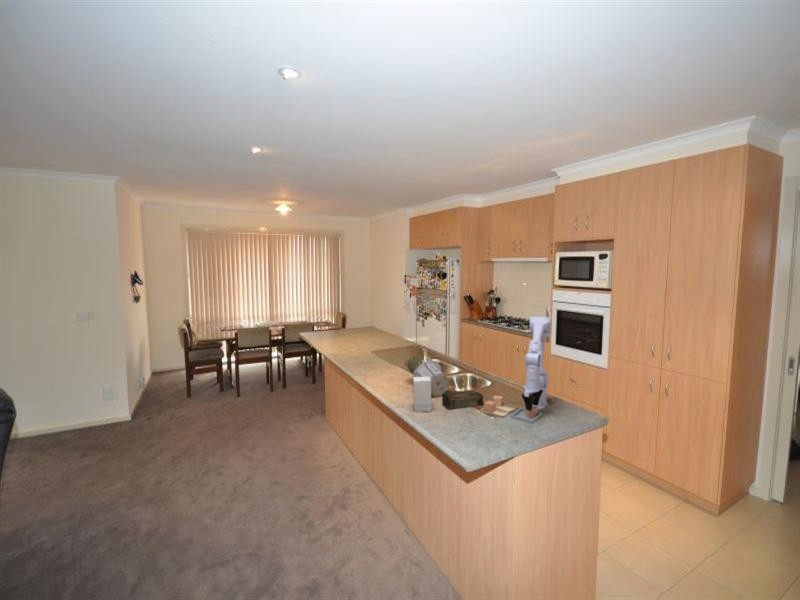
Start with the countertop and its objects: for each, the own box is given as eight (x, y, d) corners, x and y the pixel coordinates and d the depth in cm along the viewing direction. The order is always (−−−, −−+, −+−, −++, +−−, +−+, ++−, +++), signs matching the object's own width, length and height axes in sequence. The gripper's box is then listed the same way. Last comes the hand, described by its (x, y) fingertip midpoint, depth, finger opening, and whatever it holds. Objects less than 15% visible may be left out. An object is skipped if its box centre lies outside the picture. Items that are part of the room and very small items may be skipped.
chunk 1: (487, 408, 186) (488, 400, 186) (495, 410, 184) (495, 402, 183) (483, 411, 183) (484, 402, 183) (491, 413, 181) (491, 404, 180)
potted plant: (456, 369, 203) (425, 345, 228) (426, 376, 195) (398, 350, 220) (452, 398, 209) (423, 371, 234) (423, 405, 201) (396, 377, 225)
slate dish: (521, 410, 184) (521, 407, 184) (542, 416, 178) (542, 412, 178) (510, 418, 175) (510, 415, 175) (532, 424, 169) (532, 421, 169)
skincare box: (430, 407, 190) (430, 376, 188) (431, 412, 183) (431, 380, 182) (413, 407, 190) (413, 376, 188) (414, 412, 183) (414, 380, 181)
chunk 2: (494, 403, 193) (494, 395, 193) (502, 404, 192) (502, 396, 191) (492, 405, 190) (492, 397, 189) (500, 407, 188) (501, 399, 188)
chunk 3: (528, 413, 181) (528, 404, 180) (537, 415, 178) (537, 406, 178) (525, 415, 178) (525, 407, 177) (533, 417, 175) (533, 409, 175)
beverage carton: (483, 406, 190) (484, 393, 190) (447, 411, 185) (447, 398, 184) (476, 401, 198) (476, 388, 197) (441, 405, 192) (441, 392, 192)
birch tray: (495, 402, 195) (495, 400, 195) (518, 408, 188) (518, 406, 188) (479, 412, 183) (479, 410, 183) (503, 418, 176) (503, 416, 175)
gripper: (530, 373, 184) (529, 400, 185) (517, 380, 173) (517, 410, 174) (545, 376, 179) (544, 404, 181) (533, 384, 168) (532, 414, 170)
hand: (532, 407), depth 177 cm, fingers open, 7 cm apart
